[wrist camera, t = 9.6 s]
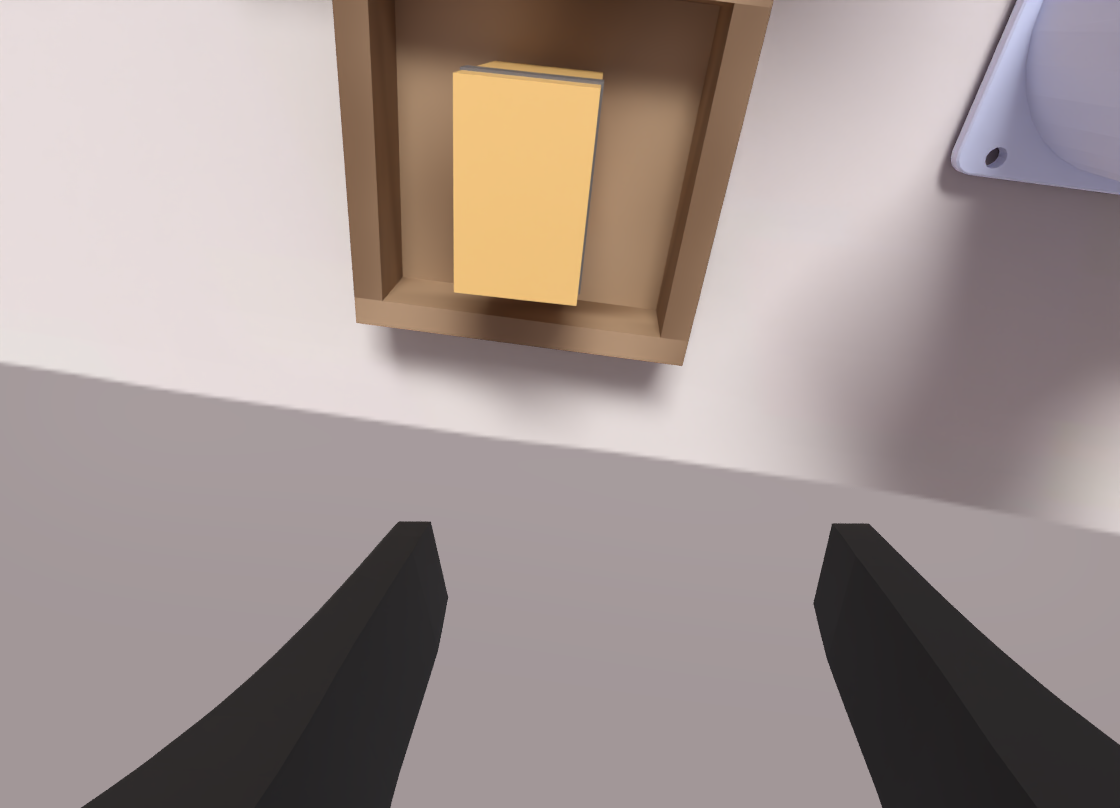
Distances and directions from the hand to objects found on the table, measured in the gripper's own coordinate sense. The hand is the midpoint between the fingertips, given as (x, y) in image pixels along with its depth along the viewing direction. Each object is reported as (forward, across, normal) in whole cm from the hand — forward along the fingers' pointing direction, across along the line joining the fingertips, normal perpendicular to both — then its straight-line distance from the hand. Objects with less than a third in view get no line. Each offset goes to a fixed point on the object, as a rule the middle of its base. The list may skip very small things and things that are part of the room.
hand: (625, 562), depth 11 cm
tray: (+10, +2, -5) cm, 12 cm away
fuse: (+10, +2, -6) cm, 11 cm away
